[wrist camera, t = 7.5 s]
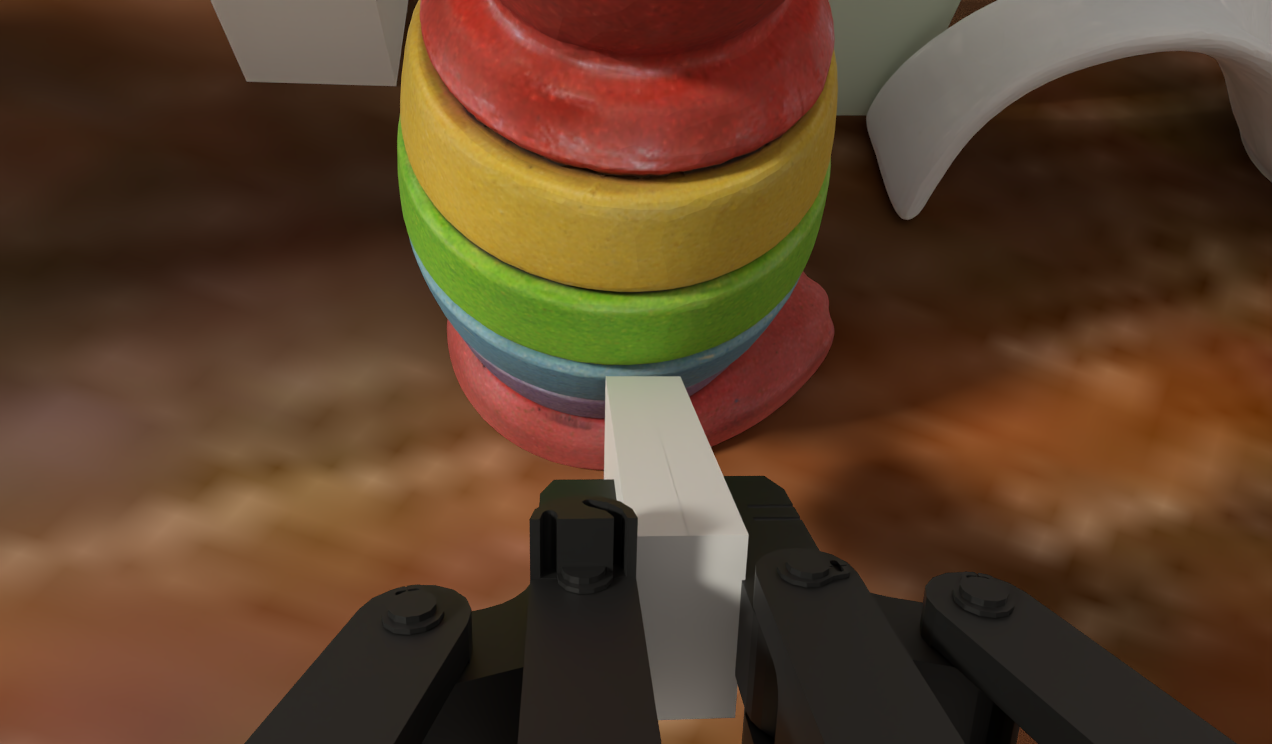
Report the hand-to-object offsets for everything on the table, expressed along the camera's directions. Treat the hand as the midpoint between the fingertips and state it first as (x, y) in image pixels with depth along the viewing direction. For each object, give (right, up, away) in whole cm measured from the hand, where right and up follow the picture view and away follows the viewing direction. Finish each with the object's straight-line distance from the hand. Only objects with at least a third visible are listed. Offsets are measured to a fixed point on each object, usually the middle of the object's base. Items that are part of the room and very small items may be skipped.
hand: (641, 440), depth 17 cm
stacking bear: (-1, +3, +8) cm, 9 cm away
